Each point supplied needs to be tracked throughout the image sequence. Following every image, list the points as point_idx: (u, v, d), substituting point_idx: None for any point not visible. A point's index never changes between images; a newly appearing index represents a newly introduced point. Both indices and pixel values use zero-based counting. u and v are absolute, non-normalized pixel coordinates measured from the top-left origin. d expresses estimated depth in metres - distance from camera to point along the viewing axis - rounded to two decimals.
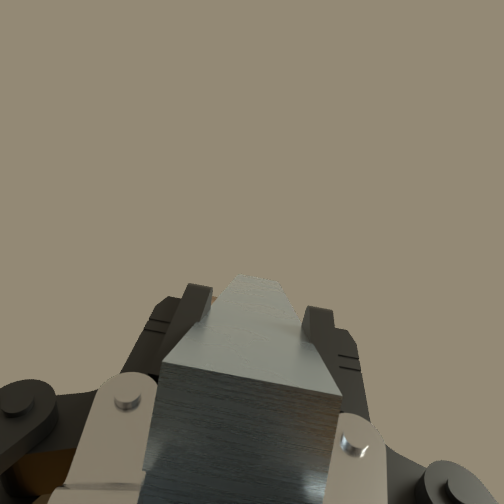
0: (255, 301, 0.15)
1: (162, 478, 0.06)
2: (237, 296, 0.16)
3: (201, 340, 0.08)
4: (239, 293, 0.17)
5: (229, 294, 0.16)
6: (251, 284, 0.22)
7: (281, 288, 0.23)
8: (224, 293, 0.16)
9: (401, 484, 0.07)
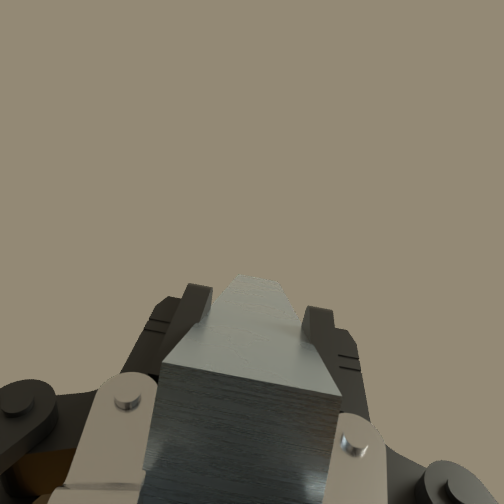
0: (255, 301, 0.15)
1: (162, 478, 0.06)
2: (237, 296, 0.16)
3: (201, 340, 0.08)
4: (239, 293, 0.17)
5: (229, 294, 0.16)
6: (251, 284, 0.22)
7: (281, 288, 0.23)
8: (224, 293, 0.16)
9: (401, 484, 0.07)
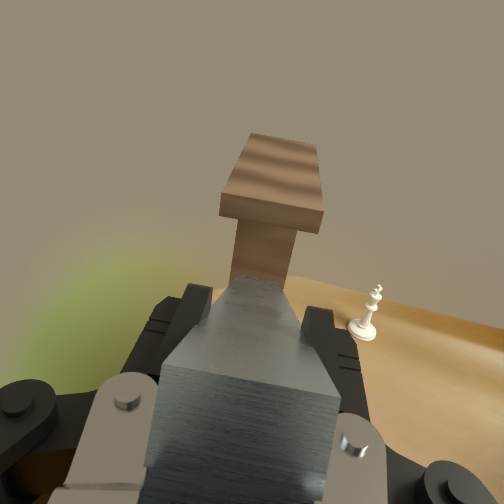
0: (255, 302, 0.15)
1: (162, 479, 0.06)
2: (237, 297, 0.16)
3: (201, 342, 0.08)
4: (239, 294, 0.17)
5: (229, 295, 0.16)
6: (251, 285, 0.22)
7: (281, 289, 0.23)
8: (224, 294, 0.16)
9: (401, 484, 0.07)
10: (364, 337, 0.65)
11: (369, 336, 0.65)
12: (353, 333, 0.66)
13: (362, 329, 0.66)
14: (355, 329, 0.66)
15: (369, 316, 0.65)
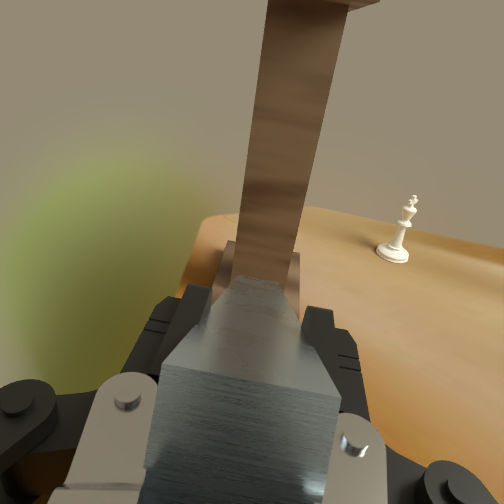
0: (255, 302, 0.15)
1: (162, 479, 0.06)
2: (237, 297, 0.16)
3: (201, 341, 0.08)
4: (239, 294, 0.17)
5: (229, 295, 0.16)
6: (251, 285, 0.22)
7: (281, 289, 0.23)
8: (224, 294, 0.16)
9: (401, 484, 0.07)
10: (396, 259, 0.57)
11: (402, 258, 0.57)
12: (383, 255, 0.58)
13: (393, 250, 0.58)
14: (385, 251, 0.58)
15: (402, 235, 0.57)
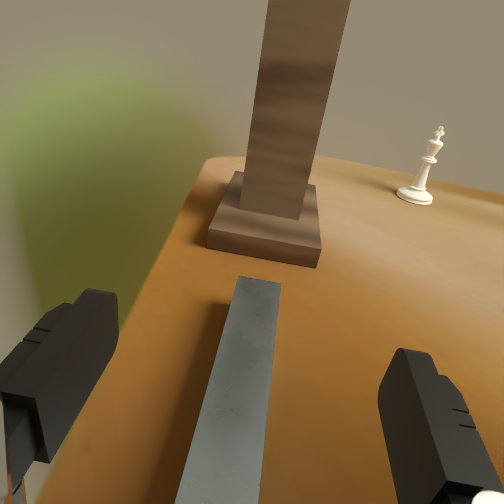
0: (224, 455, 0.15)
1: None
2: (209, 440, 0.16)
3: None
4: (215, 417, 0.17)
5: (201, 434, 0.16)
6: (241, 338, 0.21)
7: (274, 333, 0.22)
8: (196, 433, 0.16)
9: None
10: (419, 199, 0.52)
11: (425, 199, 0.52)
12: (405, 197, 0.53)
13: (416, 191, 0.53)
14: (407, 192, 0.53)
15: (426, 173, 0.52)
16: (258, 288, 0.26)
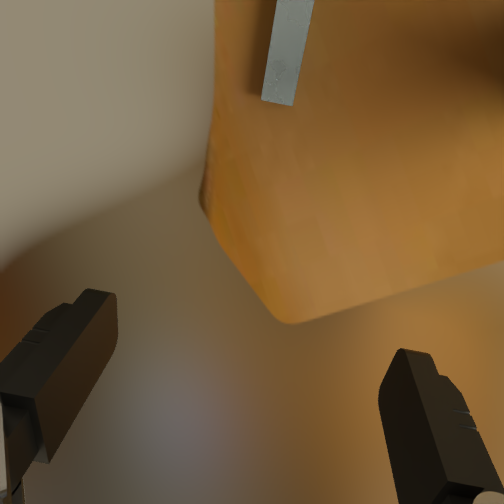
0: None
1: None
2: None
3: (268, 80, 0.34)
4: None
5: None
6: None
7: None
8: None
9: None
10: None
11: None
12: None
13: None
14: None
15: None
16: None
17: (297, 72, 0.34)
